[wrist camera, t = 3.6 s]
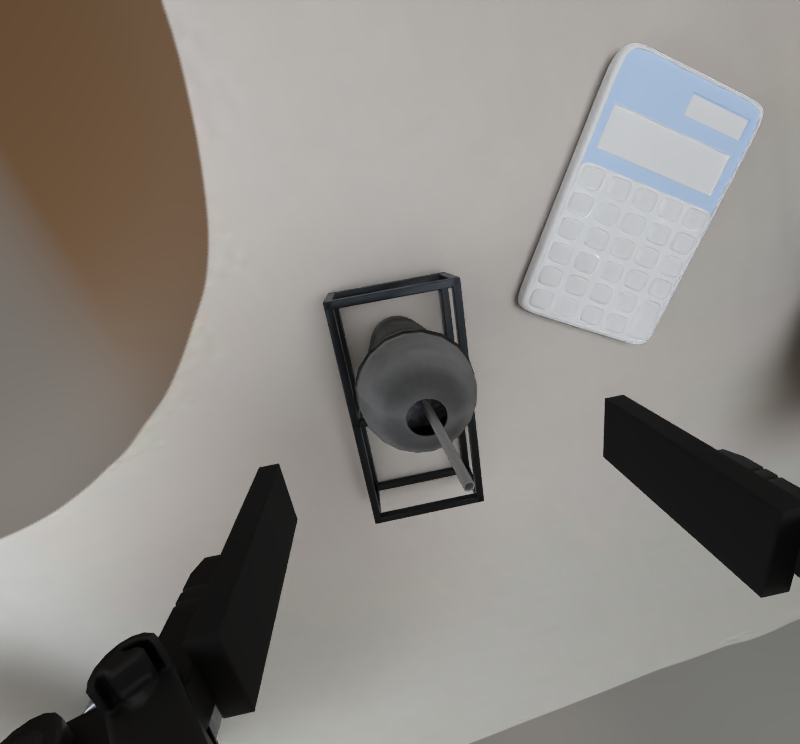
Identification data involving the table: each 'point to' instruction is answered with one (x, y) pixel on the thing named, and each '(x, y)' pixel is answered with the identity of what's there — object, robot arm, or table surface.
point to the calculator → (638, 194)
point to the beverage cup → (417, 390)
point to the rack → (348, 381)
